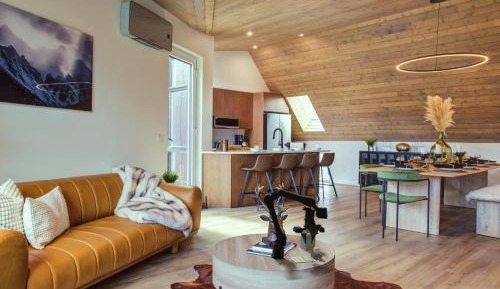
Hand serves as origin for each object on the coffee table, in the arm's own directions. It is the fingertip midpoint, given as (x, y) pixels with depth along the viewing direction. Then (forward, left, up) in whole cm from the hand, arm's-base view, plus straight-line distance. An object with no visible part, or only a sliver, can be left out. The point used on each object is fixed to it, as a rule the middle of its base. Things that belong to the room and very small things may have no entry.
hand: (308, 243), depth 217 cm
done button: (+7, +2, -8) cm, 11 cm away
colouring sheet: (-3, 0, -10) cm, 10 cm away
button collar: (+7, +2, -10) cm, 12 cm away
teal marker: (0, 0, -2) cm, 2 cm away
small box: (+10, +20, -10) cm, 25 cm away
